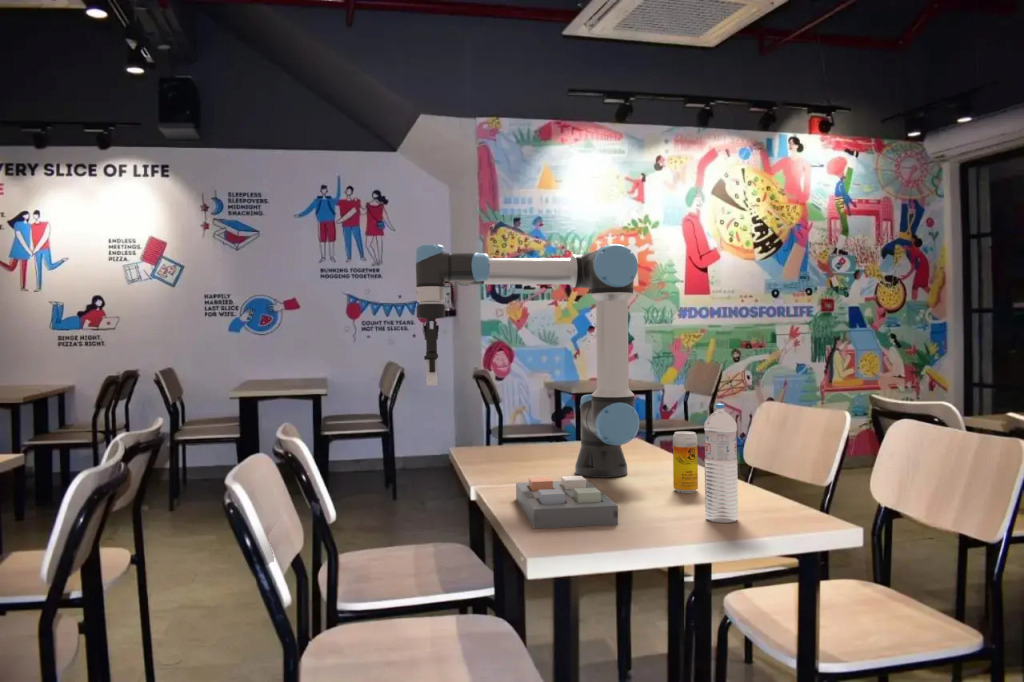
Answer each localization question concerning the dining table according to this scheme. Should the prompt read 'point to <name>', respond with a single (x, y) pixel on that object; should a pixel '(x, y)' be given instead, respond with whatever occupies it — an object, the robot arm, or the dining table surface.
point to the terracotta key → (540, 483)
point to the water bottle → (721, 467)
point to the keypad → (566, 509)
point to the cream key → (573, 482)
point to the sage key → (587, 495)
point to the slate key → (551, 496)
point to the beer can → (685, 462)
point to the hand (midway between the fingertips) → (431, 383)
